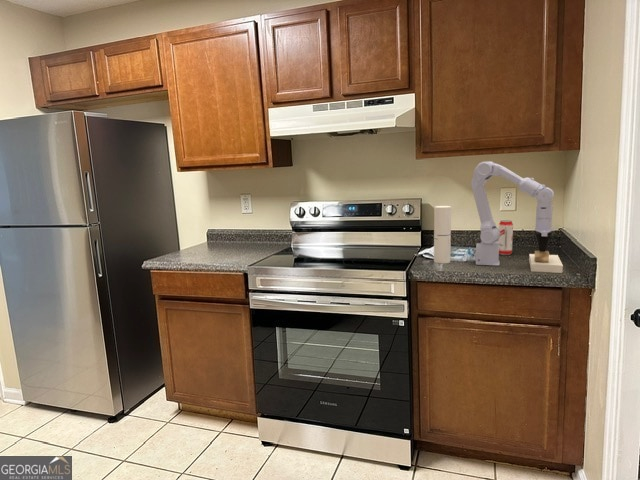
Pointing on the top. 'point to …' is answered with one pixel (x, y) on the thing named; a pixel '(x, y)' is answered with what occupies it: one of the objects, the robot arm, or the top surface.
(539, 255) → the peg
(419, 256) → the top surface
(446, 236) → the cylindrical container
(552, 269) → the board
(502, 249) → the beer can
